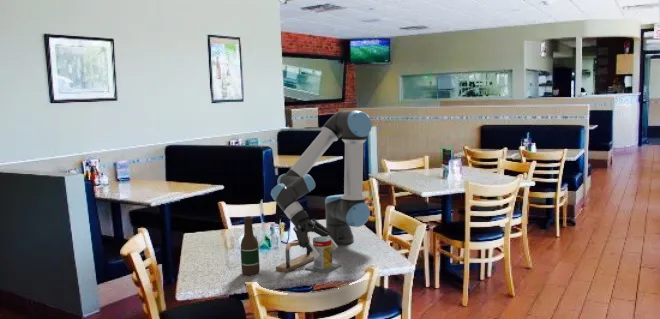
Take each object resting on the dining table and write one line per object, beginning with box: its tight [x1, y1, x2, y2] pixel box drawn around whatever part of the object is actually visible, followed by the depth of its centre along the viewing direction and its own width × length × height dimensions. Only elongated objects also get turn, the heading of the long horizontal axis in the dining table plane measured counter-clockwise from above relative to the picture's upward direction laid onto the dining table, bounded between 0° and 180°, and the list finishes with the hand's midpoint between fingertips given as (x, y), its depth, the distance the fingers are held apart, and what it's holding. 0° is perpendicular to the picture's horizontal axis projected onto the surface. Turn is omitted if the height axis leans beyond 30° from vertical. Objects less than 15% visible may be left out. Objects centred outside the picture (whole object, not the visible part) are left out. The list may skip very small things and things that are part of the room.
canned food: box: [312, 235, 333, 269], centre depth 241 cm, size 8×8×12 cm
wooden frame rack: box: [275, 235, 314, 273], centre depth 249 cm, size 24×6×10 cm, turn 146°
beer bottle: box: [240, 215, 261, 277], centre depth 237 cm, size 8×8×24 cm
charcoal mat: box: [304, 262, 342, 274], centre depth 242 cm, size 11×11×1 cm
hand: (327, 252), depth 240 cm, fingers open, 13 cm apart
